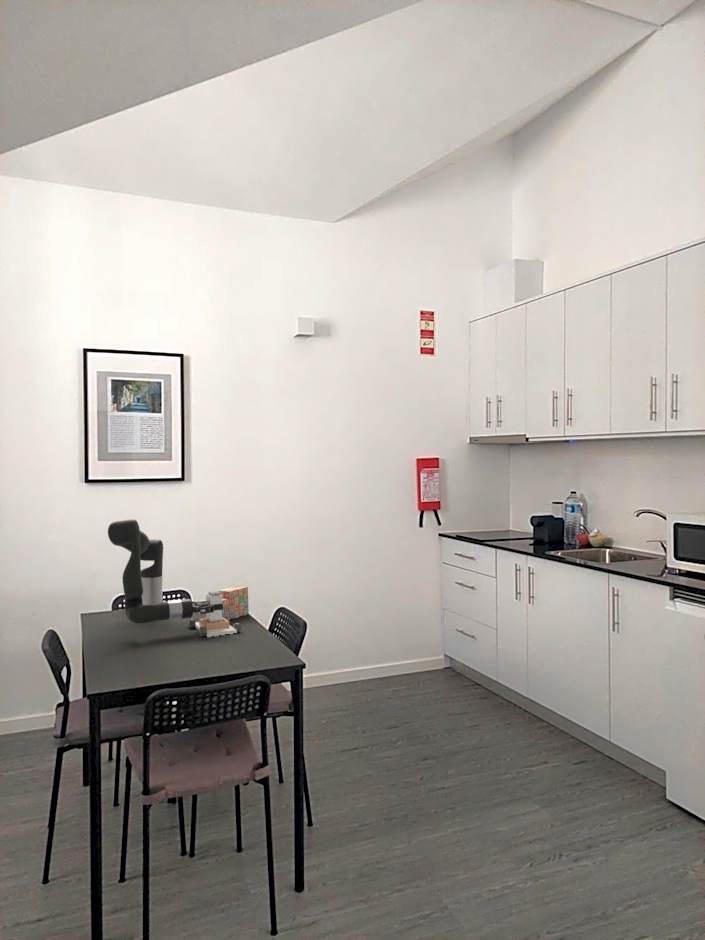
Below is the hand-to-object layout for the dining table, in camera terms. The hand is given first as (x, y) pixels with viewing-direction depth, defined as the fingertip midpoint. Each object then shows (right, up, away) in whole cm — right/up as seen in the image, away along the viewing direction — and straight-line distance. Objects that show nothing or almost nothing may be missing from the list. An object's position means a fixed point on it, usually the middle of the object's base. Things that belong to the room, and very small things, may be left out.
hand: (220, 605), depth 301 cm
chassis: (-2, -10, -1) cm, 10 cm away
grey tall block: (-2, -7, -1) cm, 7 cm away
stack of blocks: (0, -9, +19) cm, 21 cm away
